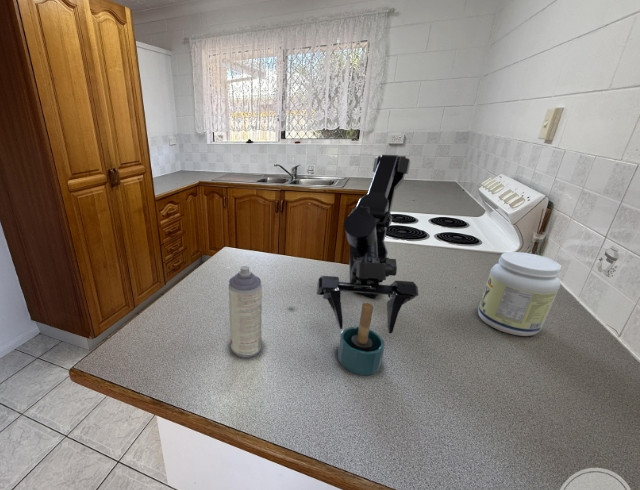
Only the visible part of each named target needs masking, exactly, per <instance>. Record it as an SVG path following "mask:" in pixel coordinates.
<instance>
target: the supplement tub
mask: <svg viewBox="0 0 640 490" xmlns="http://www.w3.org/2000/svg"><path fill="white" fill-rule="evenodd" d="M561 269H562V265H561V264H560V263H558V262H557V261H555V260H553V259H551V258H549V257H546V256H542V255H539V254H534V253H530V252H523V251H522V252H521V251H507V252H503V253H502V254H501V255H500V257H499V259H498V263H496V264H494V265H493V266H492V267H491V269H490V272H489V275H488V278H487V281H486V285H485V288H484V290H483V294H482V297H481V299H480V302H479V305H478V309H477V312H478V313H477V314H478V316H479V318H480V319H481V321H483V322H484V323H485V324H487V325H488V326H489V327H492V328H493V329H496V330H498V331H500V332H503V333H505V334H508V335H509V334H510V335H514V336H521V337H531V336H535V335H537V334H538V333H540V331H541V330H542V328H543V326H544V323H545V321H546V319H547V317H548V314H549V313H550V310H551V308H552V305H553V303H554V301H555V299H556V296H557V294H558V292H559V289H560V288H561V280H560V278H559V276H560V274H561Z"/></svg>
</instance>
